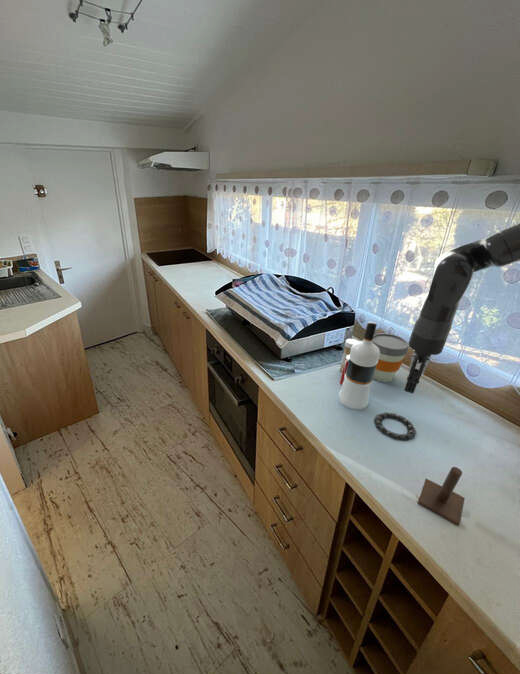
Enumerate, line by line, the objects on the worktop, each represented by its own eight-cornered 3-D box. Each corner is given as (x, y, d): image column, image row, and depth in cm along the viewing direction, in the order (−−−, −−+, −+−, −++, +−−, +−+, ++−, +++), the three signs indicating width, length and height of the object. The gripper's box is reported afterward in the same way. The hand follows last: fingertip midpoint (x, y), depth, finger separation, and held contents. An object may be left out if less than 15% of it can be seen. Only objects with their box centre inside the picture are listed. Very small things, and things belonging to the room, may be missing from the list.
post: (463, 500, 72) (481, 469, 67) (458, 526, 67) (477, 494, 62) (424, 480, 77) (438, 450, 72) (417, 503, 72) (432, 472, 67)
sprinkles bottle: (344, 366, 123) (351, 337, 117) (354, 371, 120) (361, 342, 113) (337, 370, 121) (343, 340, 115) (346, 375, 117) (353, 345, 111)
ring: (418, 427, 93) (420, 422, 92) (409, 449, 86) (411, 444, 85) (380, 411, 100) (381, 406, 99) (368, 430, 92) (370, 425, 92)
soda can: (346, 391, 109) (353, 363, 103) (336, 383, 113) (342, 355, 107) (357, 387, 111) (364, 359, 105) (347, 379, 115) (353, 352, 109)
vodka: (339, 409, 101) (358, 328, 86) (336, 392, 109) (352, 315, 94) (369, 413, 99) (393, 331, 85) (364, 395, 107) (385, 317, 93)
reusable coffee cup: (376, 386, 111) (386, 351, 104) (355, 367, 122) (363, 334, 115) (406, 382, 113) (417, 347, 106) (383, 364, 124) (392, 331, 117)
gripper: (445, 348, 70) (423, 402, 78) (450, 326, 80) (430, 376, 88) (408, 338, 74) (391, 391, 82) (417, 318, 84) (401, 367, 92)
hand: (411, 383), depth 85 cm, fingers open, 8 cm apart
